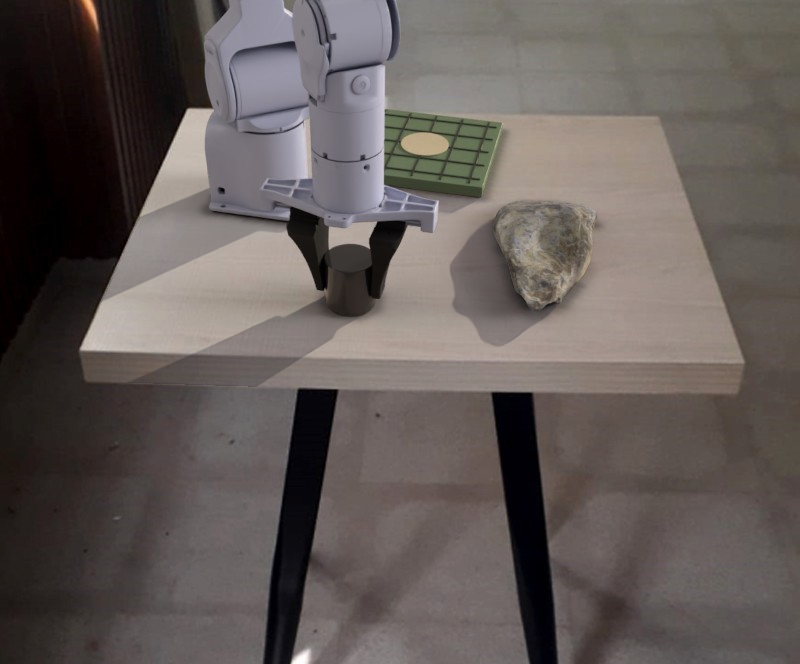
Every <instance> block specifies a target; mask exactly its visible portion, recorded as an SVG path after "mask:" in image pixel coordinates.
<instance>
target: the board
mask: <svg viewBox="0 0 800 664" xmlns="http://www.w3.org/2000/svg"><path fill="white" fill-rule="evenodd" d="M503 125H504V123H503V122H500V121H492V120H482V119H475V118H465V117H457V116H449V115H440V114H433V113H424V112H417V111H416V112H414V111H407V110H399V109H390V108H385V125H384V185H386V186H389V187H396V188H405V189H412V190H420V191H428V192H434V193H442V194H451V195H458V196H464V197H466V196H467V197H471V198H472V197H474V198H483V195H484V191H485V188H486V185H487V182H488V178H489V175H490V172H491V169H492V166H493V162H494V160H495V156H496V153H497V151H498V150H497V149H498V146H499V143H500V140H501V137H502V133H503Z"/></svg>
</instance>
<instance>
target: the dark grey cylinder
mask: <svg viewBox="0 0 800 664" xmlns="http://www.w3.org/2000/svg"><path fill="white" fill-rule="evenodd" d="M324 268H325V289H324V291H325V304H326V307H327V308H328V309H329V310H330V311H331V312H332V313H334V314H336V315H339V316H344V317H357V316H362V315H365V314H367V313H369V312H370V311H372V309H374V307H375V306H376V303H377V302H376V301H377V299H373V298H372V295H371V284H372V259H371V251H370V247H367V246H365V245H363V244H358V243H344V244H338V245H335V246H333V247H331V248H329V250H328V251H327V253H326V254H325V256H324Z"/></svg>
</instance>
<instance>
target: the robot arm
mask: <svg viewBox="0 0 800 664" xmlns="http://www.w3.org/2000/svg"><path fill="white" fill-rule="evenodd" d="M228 5H229V8H228V9H227V11H226V12H225V13H224V14H223V16H222V17H220V19H219V20H218V21H217V22H215V24H213V26H212V27H210V29H209V30H208V31H207V32H206V34H205V35H204V41H203V50H204V59H205V62H204V79H205V84H206V85H205V86H206V90H207V94H208V98H209V101H210V104H211V107H212V109H213V110H212V112H211V114H210V116H209V118H208V120H207V123H206V126H205V132H204V133H205V134H204V155H205V162H206V171H207V177H208V186H209V193H210V202H209V204H208V209H209V210H210V211H212V212H220V213H226V214H227V213H228V214H235V215H241V216H250V217H256V218H262V219H263V218H264V219H271V220H277V221H284V222H287V223H286V233H287V236H288V238H290V239H291V240H292V242H293V243H294V244H295V245H296V247H297V248H298V250H299V251H300V253H301V254H302V257H303V258H304V260H305V262H306V264H307V267H308V269H309V271H310V274H311V276H312V279H313V282H314V286H315V290H317V291H319V292H324V291H325V268H324V256H325V254H326V253H327V251H328V250H330V243H329V241H330V240H329V239H330V228H337V229H347V228H349V227H351V225H352V224H356V223H357V224H359V223H374V222H376V224H375V226H374V227H373V230H372V231H371V234H370V236H369V238H368V245H369V249H370V251H371V259H372V284H371V295H372V298H373V299H376V300H380V299H381V298H382V294H383V293H384V290H385V287H386V280H387V276H388V271H389V268H390V265H391V261H392V259H393V258H394V256H395V254H396V252H397V250H398V249H399V247H400V245H401V243H402V241H403V239H404V236H405V233H406V231H407V228H408V226H409V227H416V228H420V232H422V233H428V234H434V233H435V229H436V227H437V225H438V220H439V203H440V201H439V200H437V199H430V198H426V197H423V196H418V195H415V194H413V193H409V192H407V191H405V190H400V189H398V188H395V187H393V186H388V185H384V125H385V109H386V108H385V107H386V105H385V104H386V65H385V64H384V63H385V62H392V61H393V60H395V58H397V55H398V52H399V50H400V46H401V39H402V38H401V35H402V33H401V31H402V30H401V18H400V12H399V8H398V4H397V0H295V1H294V2H293V6H292V7H293V8H292V11H290V10H289V9H287V8H286V7H285V3H284V0H228ZM308 119H309V138H310V139H309V140H310V160H311V177H309V169H308V168H309V167H308V149H307V130H306V129H307V127H306V120H308Z"/></svg>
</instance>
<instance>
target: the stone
mask: <svg viewBox="0 0 800 664" xmlns="http://www.w3.org/2000/svg"><path fill="white" fill-rule="evenodd" d="M597 218H598V214H597V213H596V210H595V209H593V208H592V207H590V206H587V205H585V204H583V203H573V202H572V203H571V202H569V201H568V202H567V201H550V200H543V201H542V200H541V201H539V200H516V201H511V202H509V203H507V204H506V205H504V206H502V207H501V208H500V209H499V210H498V211H497V212H496V214H495V218H494V221H493V225H492V232H493V234H494V237H495V240H496V242H497V244H498V245H499V248H500V250H501V253H502V256H503V257H504V258H505V259H506V262H507V266H508V269H509V275H510V278H511V281H512V284H513V285H512V286H513V289H514V292H515V293H516V294H519V295H520V297H522V298H523V299H524V301H525V303H526V305H527V307H528V308H529V309H530V310H532V311H540V310H542V309H544V308H545V307H546V306H547V305H548V304H552V303H557V304H562V303H563V300H564V299H565V297H566V295H567V294H569V292H570V291H571V290H572V289H573V288H574V286H575V285H576V284H578V283H579V281H580V280H581V279H582V277H583V276H584V275H585V273H586V271H587V269H588V267H589V265H590V263H591V261H592V255H593V249H594V241H593V233H594V228H595V224H596V221H597Z"/></svg>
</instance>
